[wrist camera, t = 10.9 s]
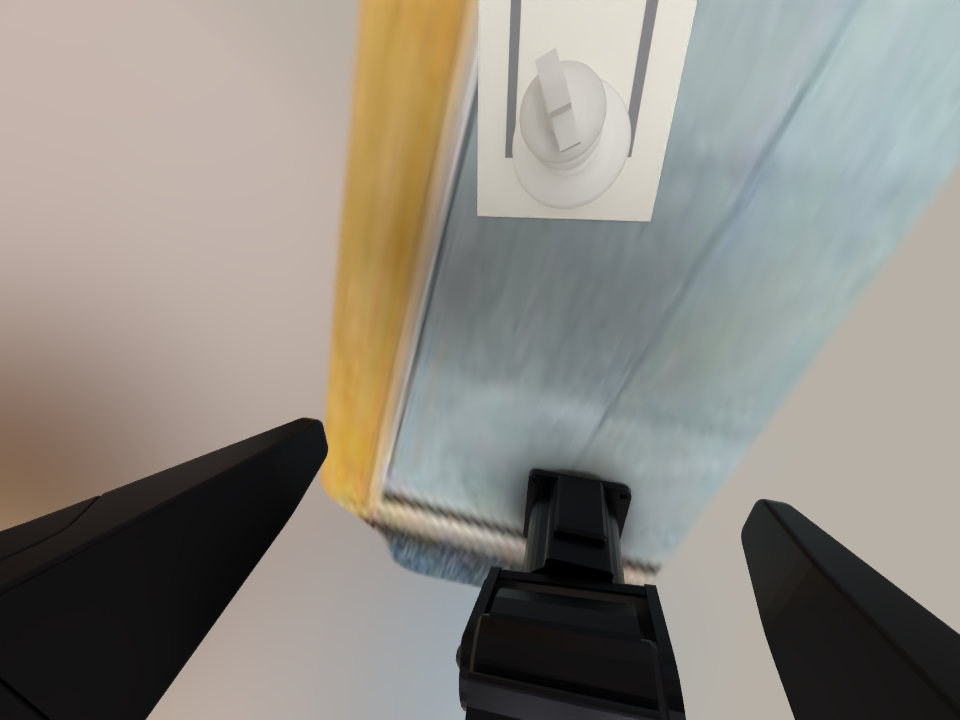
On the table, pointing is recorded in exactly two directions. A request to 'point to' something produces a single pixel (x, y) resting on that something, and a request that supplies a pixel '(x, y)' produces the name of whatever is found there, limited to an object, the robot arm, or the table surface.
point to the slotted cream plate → (615, 59)
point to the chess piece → (569, 134)
